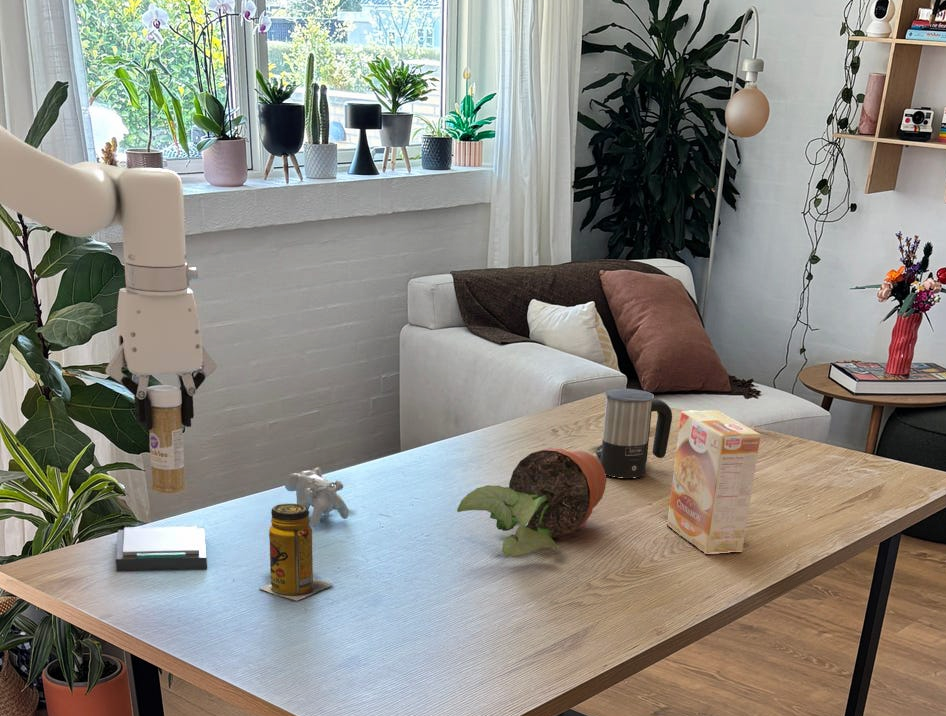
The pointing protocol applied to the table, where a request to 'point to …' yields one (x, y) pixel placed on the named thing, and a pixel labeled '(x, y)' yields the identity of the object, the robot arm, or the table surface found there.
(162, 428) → the sprinkles bottle
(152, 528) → the kitchen scale
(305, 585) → the condiment
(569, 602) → the table surface
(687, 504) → the coffeecake box
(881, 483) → the table surface
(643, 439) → the milk frother
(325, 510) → the elephant statuette
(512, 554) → the potted plant
